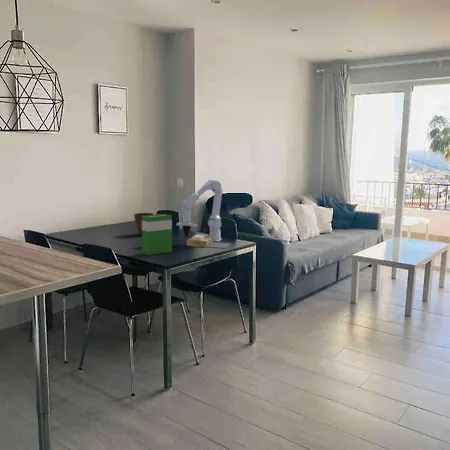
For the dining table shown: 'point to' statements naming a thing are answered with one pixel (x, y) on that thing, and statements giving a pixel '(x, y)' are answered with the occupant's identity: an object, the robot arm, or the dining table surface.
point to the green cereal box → (156, 234)
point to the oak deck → (200, 242)
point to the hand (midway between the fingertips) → (186, 236)
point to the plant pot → (140, 220)
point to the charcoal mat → (219, 245)
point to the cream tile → (198, 237)
